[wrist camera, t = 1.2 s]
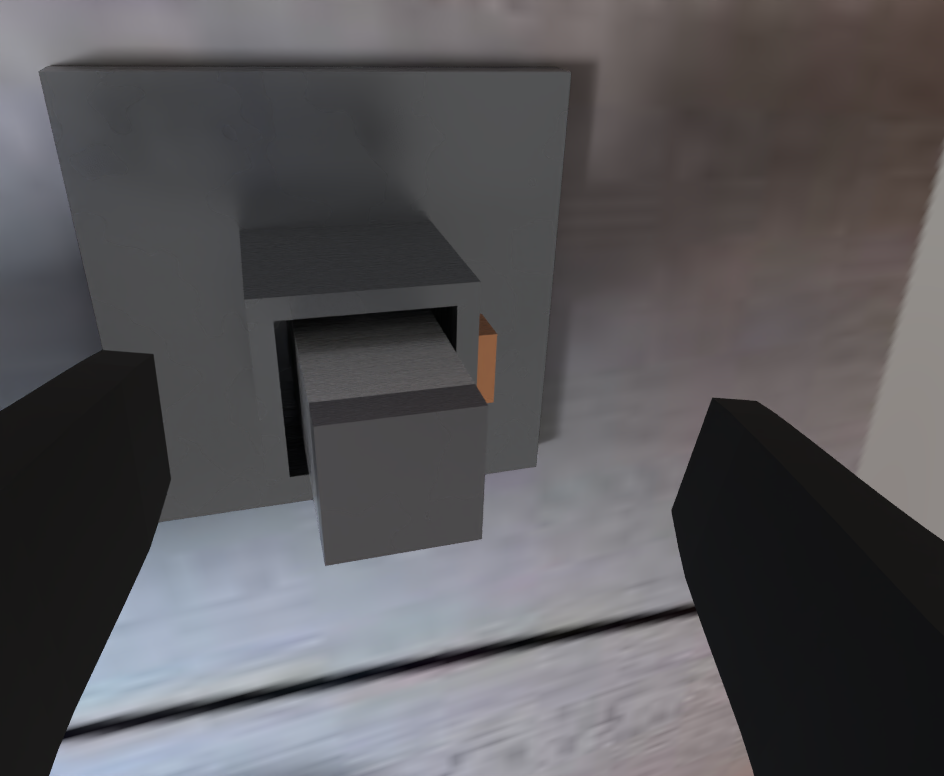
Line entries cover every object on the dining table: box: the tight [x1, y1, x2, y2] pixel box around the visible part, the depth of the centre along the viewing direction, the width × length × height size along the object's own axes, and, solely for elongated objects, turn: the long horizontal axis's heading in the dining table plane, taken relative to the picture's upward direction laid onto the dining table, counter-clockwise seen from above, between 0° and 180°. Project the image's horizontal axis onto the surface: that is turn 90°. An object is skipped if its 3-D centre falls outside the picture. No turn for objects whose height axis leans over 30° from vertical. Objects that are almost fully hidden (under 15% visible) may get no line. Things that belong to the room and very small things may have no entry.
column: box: [286, 308, 488, 566], centre depth 17 cm, size 3×3×8 cm
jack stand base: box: [39, 66, 571, 522], centre depth 19 cm, size 12×12×6 cm
